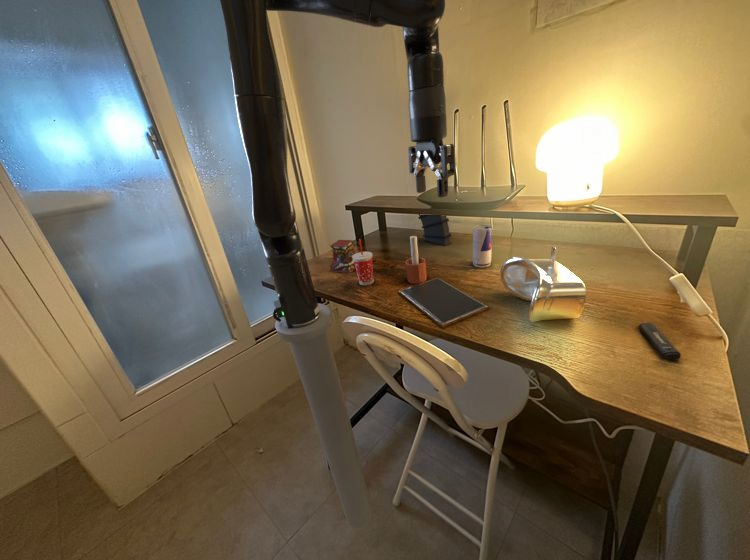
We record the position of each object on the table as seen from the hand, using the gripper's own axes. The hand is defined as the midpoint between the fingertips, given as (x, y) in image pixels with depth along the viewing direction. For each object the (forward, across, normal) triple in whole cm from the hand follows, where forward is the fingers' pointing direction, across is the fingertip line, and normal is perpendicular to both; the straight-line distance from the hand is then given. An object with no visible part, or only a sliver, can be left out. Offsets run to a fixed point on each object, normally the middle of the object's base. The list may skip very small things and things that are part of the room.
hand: (431, 194), depth 69 cm
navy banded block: (+27, -35, +24) cm, 50 cm away
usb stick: (+27, +39, +21) cm, 52 cm away
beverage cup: (+27, -20, -12) cm, 36 cm away
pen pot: (+27, -12, +1) cm, 29 cm away
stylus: (+26, -12, +1) cm, 29 cm away
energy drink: (+27, -7, +22) cm, 36 cm away
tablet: (+27, +3, -1) cm, 27 cm away
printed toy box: (+27, -36, -13) cm, 47 cm away
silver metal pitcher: (+27, +18, +15) cm, 36 cm away
